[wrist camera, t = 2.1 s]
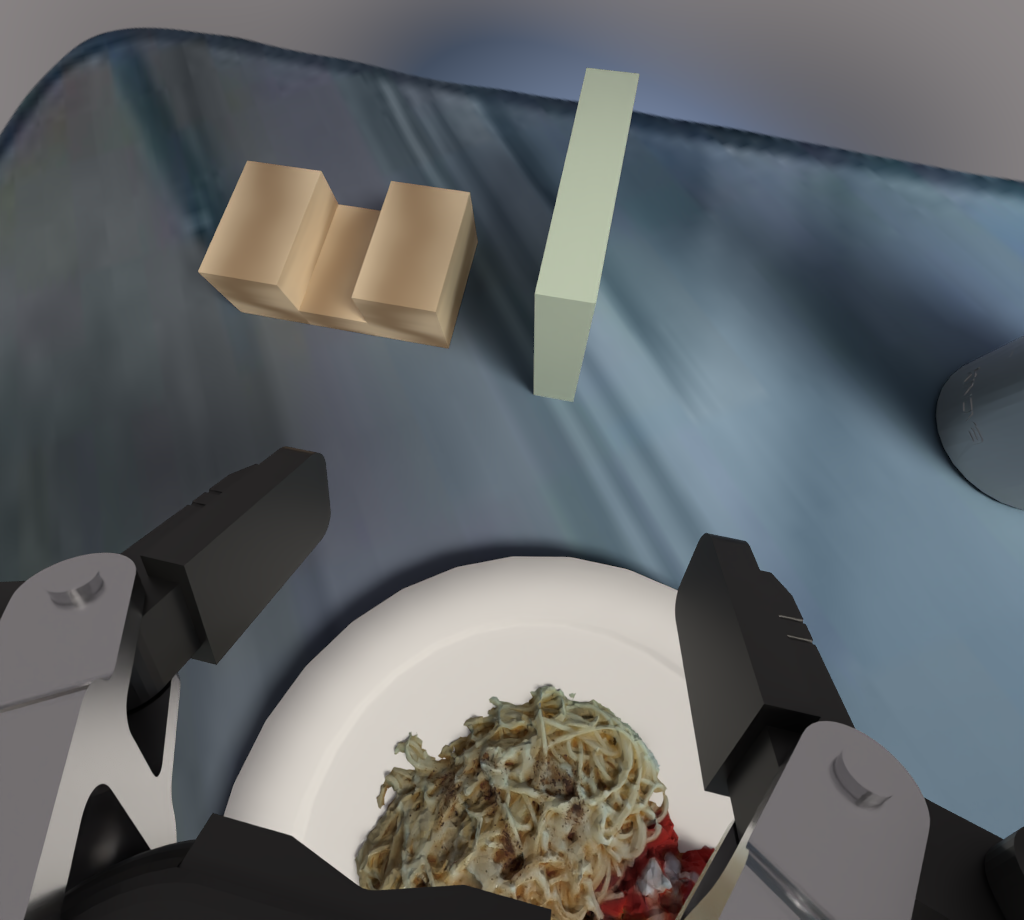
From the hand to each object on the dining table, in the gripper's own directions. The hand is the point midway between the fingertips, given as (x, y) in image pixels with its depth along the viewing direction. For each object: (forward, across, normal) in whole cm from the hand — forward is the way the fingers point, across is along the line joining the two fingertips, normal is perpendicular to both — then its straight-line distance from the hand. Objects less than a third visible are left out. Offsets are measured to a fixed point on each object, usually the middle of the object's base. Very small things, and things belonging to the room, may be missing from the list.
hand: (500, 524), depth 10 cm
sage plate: (+22, 0, 0) cm, 22 cm away
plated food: (+2, -4, +22) cm, 22 cm away
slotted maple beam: (+22, +14, 0) cm, 26 cm away
